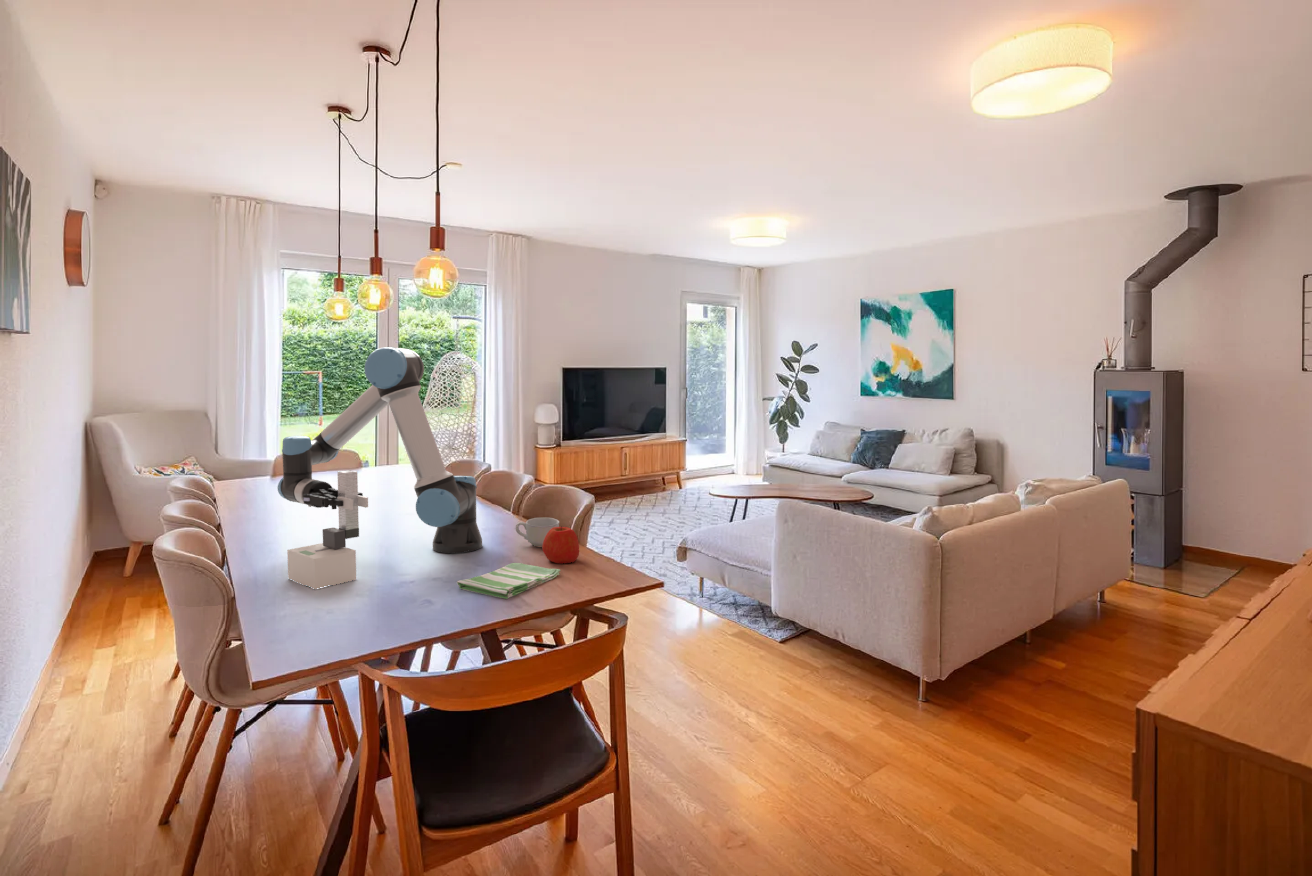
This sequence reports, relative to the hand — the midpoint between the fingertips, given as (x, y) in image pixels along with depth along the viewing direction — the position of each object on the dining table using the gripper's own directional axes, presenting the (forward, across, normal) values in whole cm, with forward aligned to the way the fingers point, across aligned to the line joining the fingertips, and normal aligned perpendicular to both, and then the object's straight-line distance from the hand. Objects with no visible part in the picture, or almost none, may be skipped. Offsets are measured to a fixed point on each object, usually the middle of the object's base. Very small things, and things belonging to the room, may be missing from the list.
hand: (359, 503), depth 181 cm
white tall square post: (-6, 0, -10) cm, 11 cm away
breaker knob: (-5, +4, -12) cm, 14 cm away
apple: (+31, -45, -20) cm, 58 cm away
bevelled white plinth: (-5, +8, -20) cm, 22 cm away
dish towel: (+34, -22, -21) cm, 46 cm away
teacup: (+12, -54, -20) cm, 59 cm away
